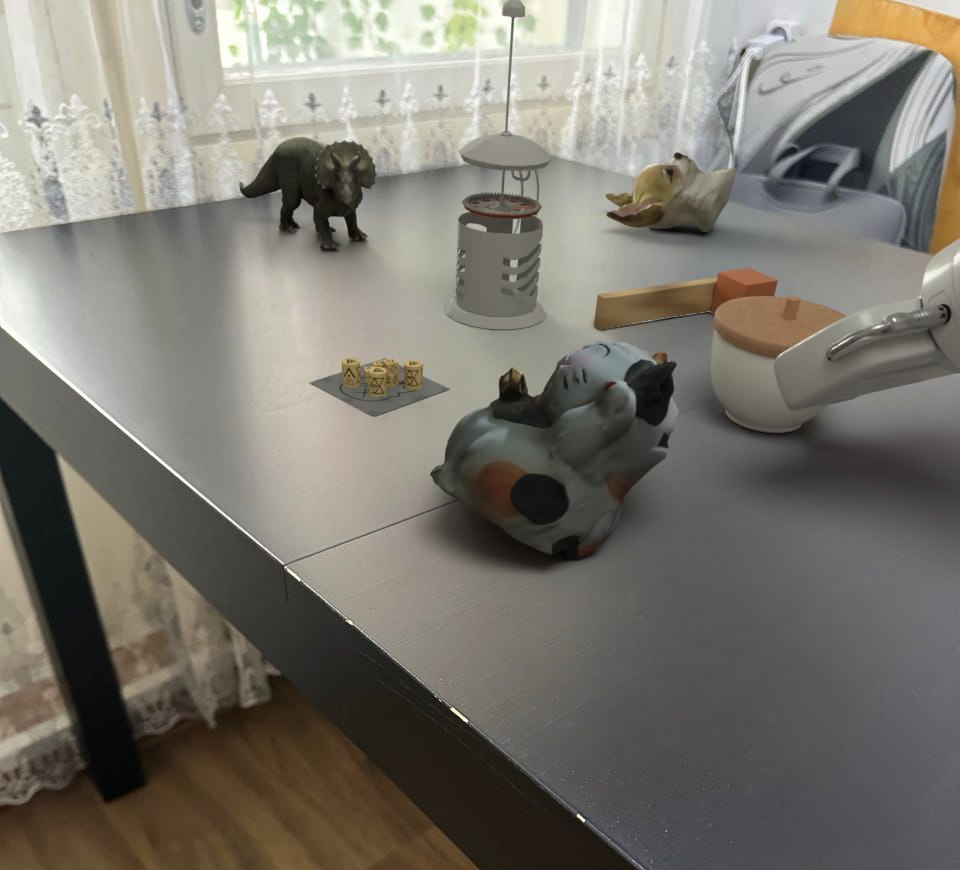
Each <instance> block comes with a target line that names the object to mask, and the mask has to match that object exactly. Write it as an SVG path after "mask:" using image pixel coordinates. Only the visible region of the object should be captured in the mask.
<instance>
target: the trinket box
mask: <svg viewBox="0 0 960 870" xmlns="http://www.w3.org/2000/svg"><path fill="white" fill-rule="evenodd" d="M847 316H848V315H847V314H844V313H842V312H841V311H839V310H836V309H834V308H831V307H828V306H826V305H823V304H819V303H816V302H812V301H807V300H803V299H801V298H800V297H799V296H797V295H796V296H795V295H787V296H775V295H774V296H752V297H742V298H737V299H733V300H730V301H727V302H725V303H723V304H722V305H721V306H719V307H718V308H717V310H716V312H715V315H714V317H713V325H712V326H713V330H712V335H711V341H710V347H709V359H708V370H709V379H710V384H711V387H712V390H713V392H714V395H715V398H716V399H717V400H718V402H719V403H720V405H721V406H722V407H723V409H724V412H725V415H726V417H727V418H728V419H729V420H731V421H732V422H733V423H735V424H737V425H738V426H740V427H742V428H746V429H748V430H752V431H755V432H756V431H757V432H760V433H767V434H784V433H791V432H793V431H796V430H798V429H800V428H801V427H802V425H803V424H804V423H806V422H808V421H810V420H812V419H813V418H815V417H816V416H818V415H820V414H821V412H823V411H824V410H825V409H826V408H827V407H828V406H829V405H826V406H823V405H817V406H812V407H808V408H804V409H800V410H790V409H789V408H788V407H787V406H786V404H785V402H784V399H783V397H782V394H781V392H780V389H779V387H778V383H777V380H776V376H775V373H774V362H775V360H776V358H777V357H778V356H779V355H780V354H781V353H782V352H784V351H786V350H787V349H789V348H791V347H792V346H794V345H796V344H797V343H799V342H801V341H802V340H804V339H806V338H808V337H809V336H811V335H813V334H815V333H816V332H818V331H820V330H822V329H824V328H825V327H827V326H829V325H831V324H833V323H835V322H836V321H838V320H840V319H842V318H844V317H847Z"/></svg>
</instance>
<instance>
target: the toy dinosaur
mask: <svg viewBox="0 0 960 870" xmlns="http://www.w3.org/2000/svg"><path fill="white" fill-rule="evenodd" d="M355 141H356V140H351V141H347V140H345V139H343V141H341V142H339V141H337V140H334V142H333V143H331V144H327V143H326V144H325V143H323V142H321V141H319V140H317V139H313V138H309V137H305V136H295V137H292V138H289V139H288V138H287V139H285V140H284V141H282V142H280V143H279V144H278V145H277V146H276V148H275V149H274V151H273V152H272V153H271V154H270V155H269V157H268V158H267V160H266V161H265V163H264V164H263V165H262V167H261V168H260V170H259V171H258V173H257V175H256V177H255V178H254V180H253V181H252V182H250V183H249V184H248V185H246V186H245V184H244V183H243V182H242V181H239V183H238V185H239V191H240V193H241V194H242V195H243V197H245V198H246V199H256V198H259V197H261V196H264V195H267V194H272V193H276V192H278V191H281V195H282V196H281V204H282V206H281V207H280V212H279V216H280V217H279V225H278V231H279V232H283V231H288V232H294V230H295V229H297V230H299V229H300V228H301V227H300V225H299V223H298V222H297V221H295V219H294V218H293V217H294V211H296V210H297V209H298V208H299V207H300V206H301V204H302V200H303V201H305V202H306V203H307V204H308V205H309V206H311V207H312V208H313V209H312V210H313V216H312V220H313V223H314V224H313V225H314V229H315V232H316V233H318V234H319V236H320V239H321V243H320V245H319V249H321V250H322V249H324V250H330V249H332V250H334V249H337V248H340V247H341V244H340V243H339V242H337V241H335V240H334V238H333V235H332V233H336V232H337V230H336V228H335V227H333V226H330V221H329V219H330V218H333V217H336V218H343V220H344V222H345V224H346V228H347V229H346V230H347V235H348V238H350V239H352V240H353V241H358V240H363V241H365V240H366V239H367V238H368V234H366V232H364V231H363V230H361V228H359V226H358V216H357V208H359V206H360V204H361V203H362V201H363V199H364V196H363V195H364V193H363V190H362V189H363V188H364V189H368V190H371V189H372V186H373V185H376V177H377V176H378V173H377V172H376V163H374V161H373V159H374V158H373V157H372V156H371V155H370V153H369V150H368V149H365V148H364V146H363V144H362V143H360V144H359V143H356V142H355Z"/></svg>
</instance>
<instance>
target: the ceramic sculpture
mask: <svg viewBox="0 0 960 870" xmlns="http://www.w3.org/2000/svg"><path fill="white" fill-rule="evenodd" d="M736 174H737V168H736V167H735V166H734V167H733V166H732V167H730V168H727V169H720V170H719V169H718V170H716V171H711V172H705V171H701V170H700V169H699V168H698V166H697V163H696V162H695V160H693V159H692V158H689V156H688V155H685V154H683V153H681V152H678V151H677V152H675V153H674V154H673V156H672V158H671V160H670V162H652V163H650V164H649V165H647V166H645V167H644V168H643V169H642V170H640V172H639V173H638V174H637V176H636V178H635V180H634V184H633V189H632V193H628V192H623V193H620V194H617V195H616V194H614V193H610V192H609V193H605V198H606V199H607V200H608V201H610V202H611V203H613V204H614V205H616V206H617V207H619V208H618V209H617V210H613V211H607V212H606V213H605V215H606V217H607V218H609V219H611V220H613V221H616V222H618V223H620V224H622V225H624V226H627V227H631V228H636V229H637V228H645V227H649V228H650V229H659V230H667V229H672V228H676V227H678V226H683V225H685V226H687V225H692V226H694V227H695V228H697V229H698V230H699V231H701V232H703V233H706V232H709V231H710V230H711V229H712V228H713V227H714V226H715V224H716V222H717V221H718V219H719V217H720V215H721V213H722V211H723V210H724V209H725V207H726V206H727V204H728V202H729V199H730V195H731V191H732V188H733V185H734V180H735V176H736Z"/></svg>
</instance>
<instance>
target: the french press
mask: <svg viewBox="0 0 960 870" xmlns="http://www.w3.org/2000/svg"><path fill="white" fill-rule="evenodd" d="M501 16H503V17H508V18H509V17H510V18H511V20H510V21H511V24H510V41H509V55H508V56H509V57H508V58H509V59H508V74H507V88H506V89H507V91H506V109H505V124H504V125H505V126H504V127H505V128H504V130H503V131H501V132H495V133H490V134H486V135H482V136H480V137H477V138H474V139H471V140H470V141H469V142H467V143H466V144H465V145H464V146H463V147H461V148H460V149H459V150H458V153H459V155H460V157H461V159H462V161H463V162H464V163H467V164H469V165H470V166H474V167H479V168H483V169H489V170H496V171H502V175H501V190H500V191H501V192H497V191H496V192H493V191H491V192H486V191H485V192H480V193H474V194H469V195H467V196H466V197H464V199H463V200H462V201H461V202H462V205H463V207H464V209H465V211H468V212H464V213H461V215H459V216H458V218H457V236H456V237H457V241H456V243H457V250H456V260H457V261H456V270H455V273H456V276H455V286H456V287H455V290H454V291H455V295H454V296H453V297H452V298H451V299H450V300H449V301H448V302H447V304H445V306H444V310H445V313H446V315H447V316H448V317H450V318H451V319H453V321H456V322H458V323H462V324H464V325H467V326H470V327H474V328H481V329H488V330H518V329H523V328H524V329H525V328H529V327H533V326H535V325H537V324H539V323H541V322H543V321H544V319H545V318H546V316H547V313H546V311H545V309H544V306H542V305H541V303H540V302H539V301H538V290H539V286H538V283H539V281H540V271H539V269H540V267H541V258H540V255H541V253H542V246H543V245H542V243H541V241H542V239H543V235H544V233H543V232H544V223H543V221H542V220H541V219H540V218H538V214H539V212H540V211H541V209H542V208H543V206H542V205H541V203H540V181H539V174H538V170H539V169H543V168H546V167H547V166H548V165H549V164H550V162H551V161H552V159H553V158H552V156H551V155H550V154H549V153H548V152H547V151H546V150H545V149H544V148H543V147H542V146H541V145H539V144H538V143H537V142H536V141H534V140H531V139H530V138H528V137H526V136H524V135H521V134H513V133H512V132H511V131H510V130H508V129H509V128H508V126H509V112H510V94H511V80H512V64H513V63H512V62H513V47H514V31H515V30H514V28H515V26H514V25H515V19H516V18H525V17H526V6H525V5H524V3H523V1H522V0H507V1H505V2H504V3H503V5H502V8H501ZM506 171H507V172H509V171H510V174H511V177H512V178H513V179H514V180H515V181H519V182H520V193H519V194H518V193H515V194H514V193H513V192H512V193H511V192H509V193H507V192H505V179H506V178H505V176H506ZM522 171H523V172H524V171H527V172H526V173H527V175H526V177H524V176H523V172H522ZM532 171H534V174H535V183H536V199H534V198H531V197H529V196H526V195H524V193H525V189H524V182H526V181H528V180H529V179H530V178H531V172H532ZM515 172H518V174H519V176H516V175H515ZM514 220H516V224H515V227H514ZM468 224H473V225H479V226H482V227H485V228H486V231H485V230H480V229H476V228H472V227H470V226H467V225H468ZM519 226H520V227H519ZM518 228H519V233H518V232H517V231H518ZM513 229H514V230H513ZM511 261H517V264H516V265H517V266H515V267H512V266H511ZM463 269H464V271H463ZM510 276H516V279H515V281H510Z"/></svg>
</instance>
